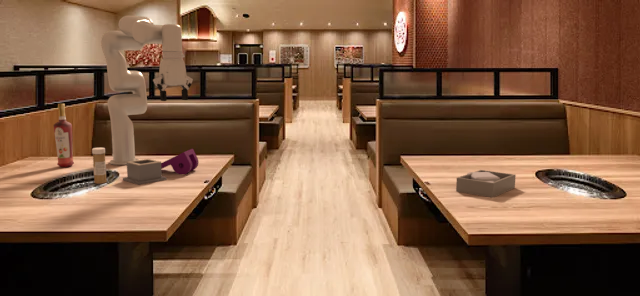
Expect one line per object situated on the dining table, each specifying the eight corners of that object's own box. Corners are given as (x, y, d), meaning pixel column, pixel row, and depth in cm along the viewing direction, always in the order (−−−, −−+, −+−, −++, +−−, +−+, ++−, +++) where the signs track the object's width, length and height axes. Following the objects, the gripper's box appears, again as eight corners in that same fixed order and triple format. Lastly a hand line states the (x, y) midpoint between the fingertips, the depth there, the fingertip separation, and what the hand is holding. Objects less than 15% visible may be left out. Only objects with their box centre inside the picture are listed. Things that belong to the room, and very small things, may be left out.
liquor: (78, 165, 234) (73, 103, 230) (68, 168, 227) (64, 104, 223) (63, 164, 235) (58, 103, 231) (53, 167, 228) (48, 104, 224)
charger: (481, 193, 180) (466, 184, 195) (507, 193, 181) (490, 184, 196) (481, 180, 180) (467, 172, 195) (507, 180, 180) (490, 171, 195)
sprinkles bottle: (95, 181, 200) (93, 147, 198) (108, 181, 201) (106, 147, 199) (92, 184, 196) (90, 149, 194) (105, 183, 197) (103, 148, 195)
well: (122, 180, 203) (121, 161, 202) (150, 175, 212) (149, 158, 211) (138, 184, 195) (137, 165, 194) (166, 179, 204) (165, 161, 203)
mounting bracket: (157, 187, 217) (193, 170, 213) (148, 169, 216) (184, 152, 213) (166, 182, 226) (201, 166, 223) (158, 165, 226) (192, 148, 222)
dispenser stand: (456, 191, 186) (456, 177, 185) (479, 182, 200) (480, 169, 199) (492, 197, 177) (493, 183, 176) (514, 187, 191) (515, 174, 190)
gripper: (185, 57, 212) (187, 99, 214) (147, 56, 199) (149, 100, 201) (196, 56, 207) (198, 99, 209) (158, 56, 194) (160, 101, 197)
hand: (174, 100), depth 205 cm, fingers open, 9 cm apart
